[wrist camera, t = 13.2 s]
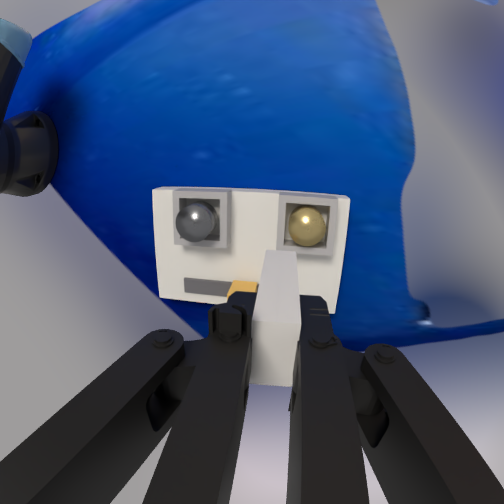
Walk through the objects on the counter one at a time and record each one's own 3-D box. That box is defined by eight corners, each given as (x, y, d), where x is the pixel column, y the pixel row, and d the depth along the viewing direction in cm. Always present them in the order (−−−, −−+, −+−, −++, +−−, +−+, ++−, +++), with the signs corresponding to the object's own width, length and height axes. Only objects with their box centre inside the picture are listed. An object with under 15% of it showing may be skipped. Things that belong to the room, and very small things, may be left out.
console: (167, 288, 43) (152, 305, 38) (161, 185, 39) (143, 190, 33) (332, 302, 41) (336, 323, 36) (345, 193, 36) (354, 200, 31)
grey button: (185, 233, 35) (176, 241, 32) (184, 200, 34) (174, 205, 31) (217, 235, 35) (211, 243, 32) (217, 201, 33) (210, 206, 31)
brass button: (287, 237, 35) (287, 244, 32) (289, 203, 34) (289, 208, 31) (321, 239, 35) (324, 247, 32) (324, 205, 33) (327, 211, 31)
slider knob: (233, 301, 39) (227, 316, 35) (233, 280, 38) (227, 294, 34) (256, 303, 38) (252, 319, 35) (257, 282, 37) (253, 296, 34)
